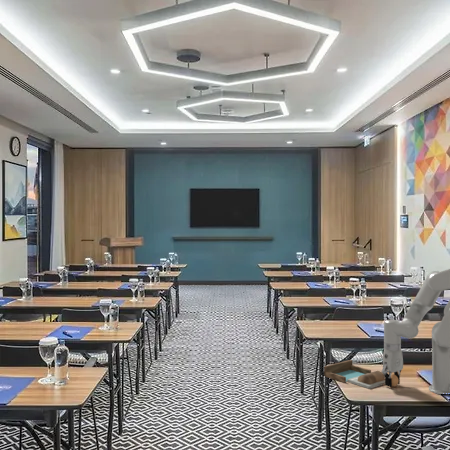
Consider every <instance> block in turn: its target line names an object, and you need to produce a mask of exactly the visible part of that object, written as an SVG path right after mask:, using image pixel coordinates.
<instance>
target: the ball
mask: <svg viewBox="0 0 450 450" xmlns="http://www.w3.org/2000/svg"><path fill="white" fill-rule="evenodd" d="M393 374H394V373H392V374H391V378H392V387H396V386H398V385H399V384H398V382H399V380H398V377H397V376H396V375H393Z"/></svg>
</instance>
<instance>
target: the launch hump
mask: <svg viewBox="0 0 450 450" xmlns="http://www.w3.org/2000/svg"><path fill="white" fill-rule="evenodd" d="M383 380H385V377H384V374H383V373H382V371H381V370H375V371H371V373H368V374H364V375H361V376H359V377H358V380H357V381H359V382H362V383H366V384H369V385H370V384H373V383H377V382H380V381H383Z"/></svg>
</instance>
